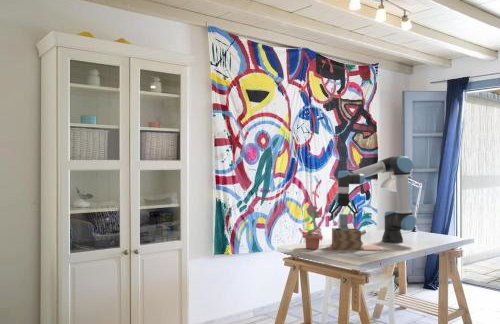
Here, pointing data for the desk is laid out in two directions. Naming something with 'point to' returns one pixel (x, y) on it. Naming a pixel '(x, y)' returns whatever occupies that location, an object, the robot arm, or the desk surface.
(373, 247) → the tile
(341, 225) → the grey tall block
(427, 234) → the desk surface
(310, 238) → the decorative flower
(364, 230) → the door handle
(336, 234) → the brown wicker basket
